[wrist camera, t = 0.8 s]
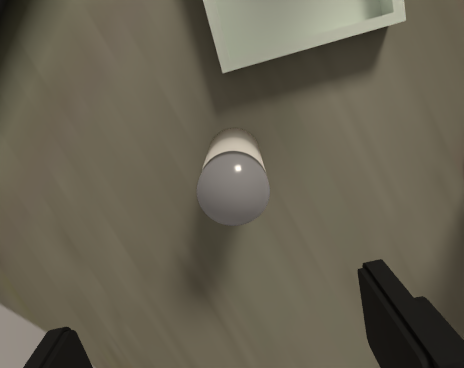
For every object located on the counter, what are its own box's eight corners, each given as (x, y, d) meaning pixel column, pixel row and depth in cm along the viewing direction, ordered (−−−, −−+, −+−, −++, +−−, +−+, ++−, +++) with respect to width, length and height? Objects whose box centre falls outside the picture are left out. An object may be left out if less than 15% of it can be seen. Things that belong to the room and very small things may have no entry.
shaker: (252, 122, 31) (260, 148, 21) (264, 170, 33) (277, 216, 22) (202, 135, 32) (187, 167, 21) (216, 182, 33) (208, 232, 23)
